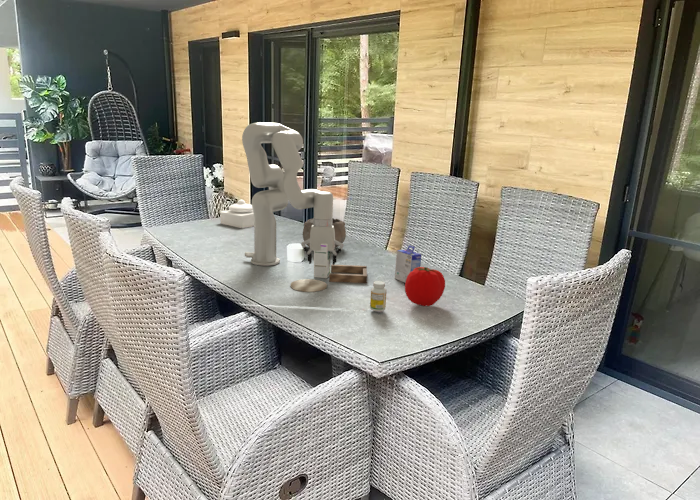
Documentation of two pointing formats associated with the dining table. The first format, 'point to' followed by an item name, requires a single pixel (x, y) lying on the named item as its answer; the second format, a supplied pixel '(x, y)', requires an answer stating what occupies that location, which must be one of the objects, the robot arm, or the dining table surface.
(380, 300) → the supplement bottle
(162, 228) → the dining table surface
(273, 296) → the dining table surface
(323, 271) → the syrup box
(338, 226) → the clay pot
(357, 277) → the shelf rack
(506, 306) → the dining table surface
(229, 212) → the butter dish
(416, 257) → the ink cartridge box
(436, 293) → the tomato
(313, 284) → the pad
